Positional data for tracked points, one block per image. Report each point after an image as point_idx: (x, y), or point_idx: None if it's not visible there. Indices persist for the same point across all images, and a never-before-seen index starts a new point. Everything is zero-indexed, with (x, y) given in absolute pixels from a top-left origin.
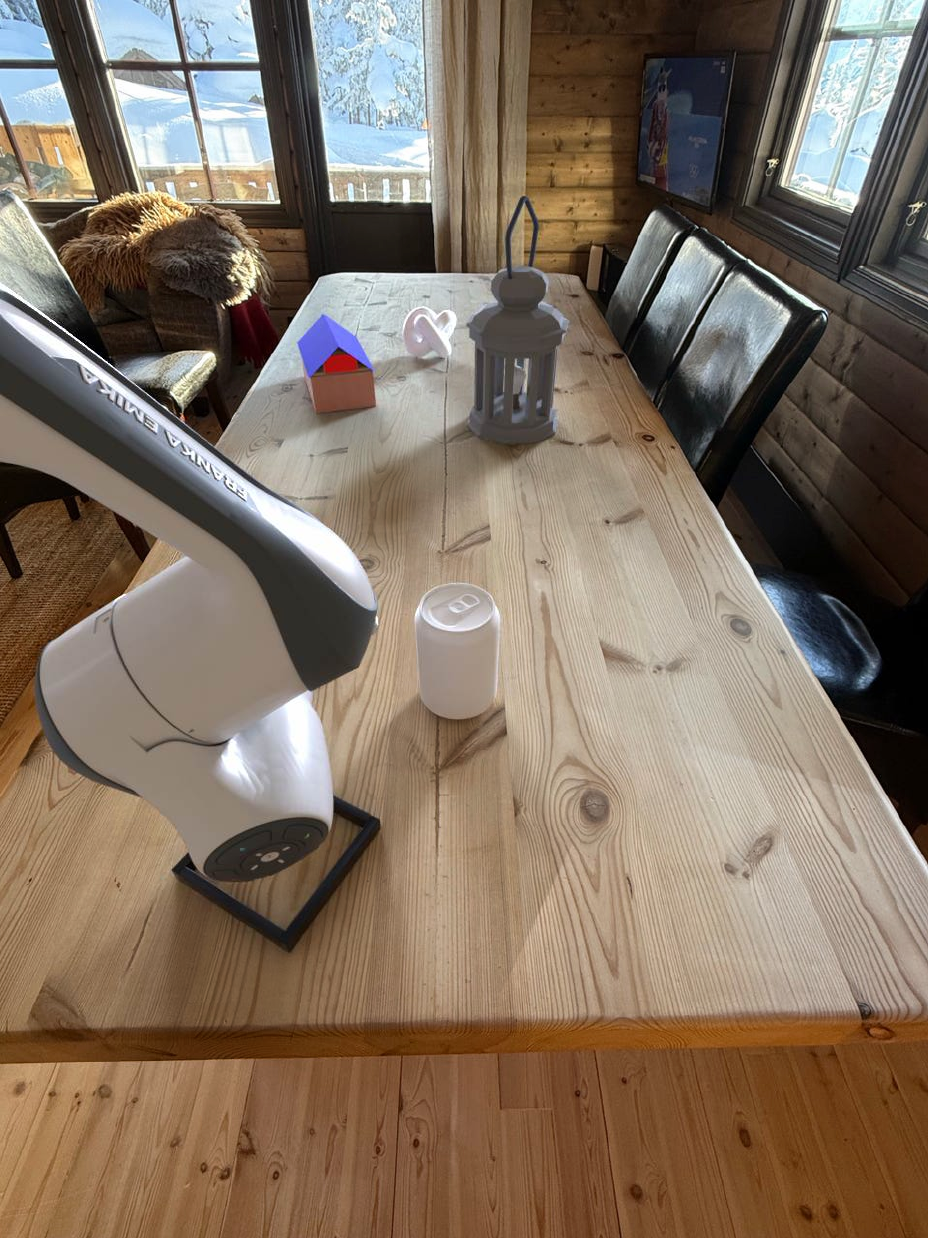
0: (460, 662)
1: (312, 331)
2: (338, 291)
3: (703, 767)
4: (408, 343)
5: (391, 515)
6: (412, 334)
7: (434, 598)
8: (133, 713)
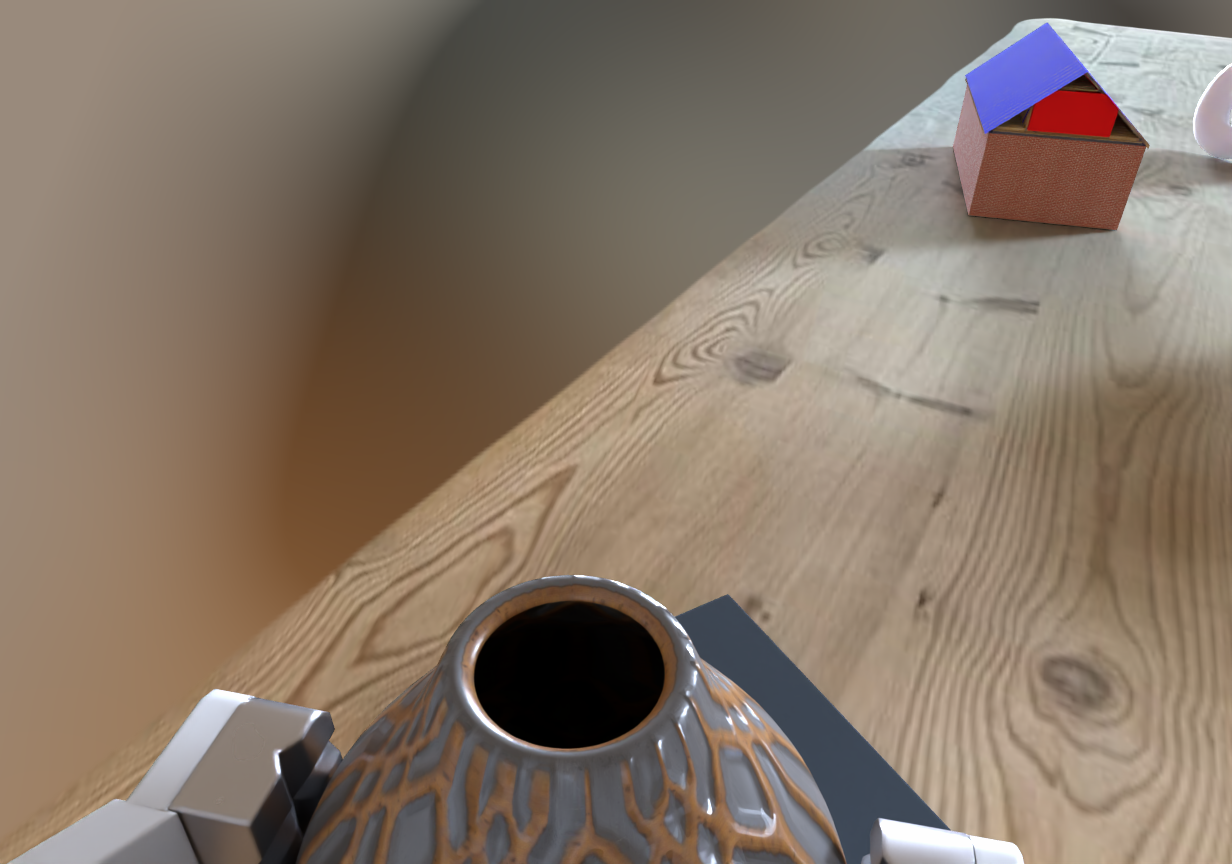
0: None
1: (1010, 54)
2: None
3: None
4: (1208, 125)
5: (1170, 528)
6: (1224, 108)
7: None
8: None
